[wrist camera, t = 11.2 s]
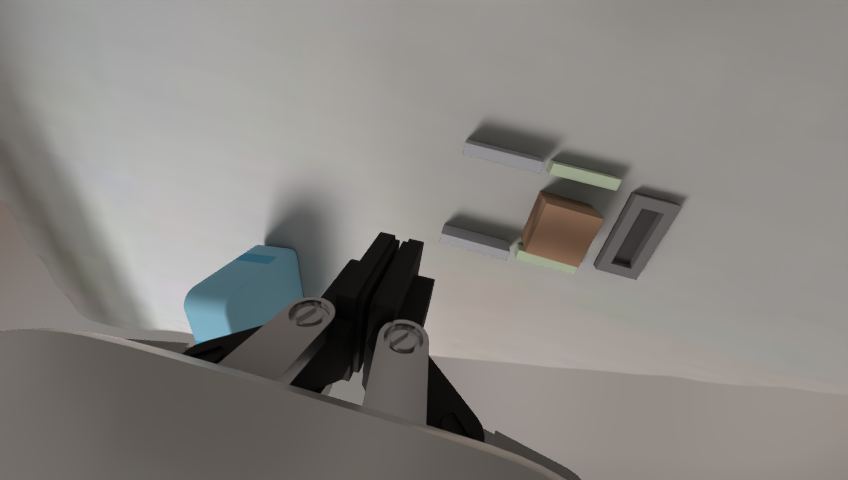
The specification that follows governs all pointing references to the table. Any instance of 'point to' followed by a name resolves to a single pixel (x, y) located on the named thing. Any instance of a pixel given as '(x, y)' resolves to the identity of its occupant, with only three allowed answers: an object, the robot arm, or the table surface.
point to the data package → (244, 293)
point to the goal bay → (577, 175)
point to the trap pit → (636, 235)
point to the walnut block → (560, 229)
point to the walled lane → (481, 241)
